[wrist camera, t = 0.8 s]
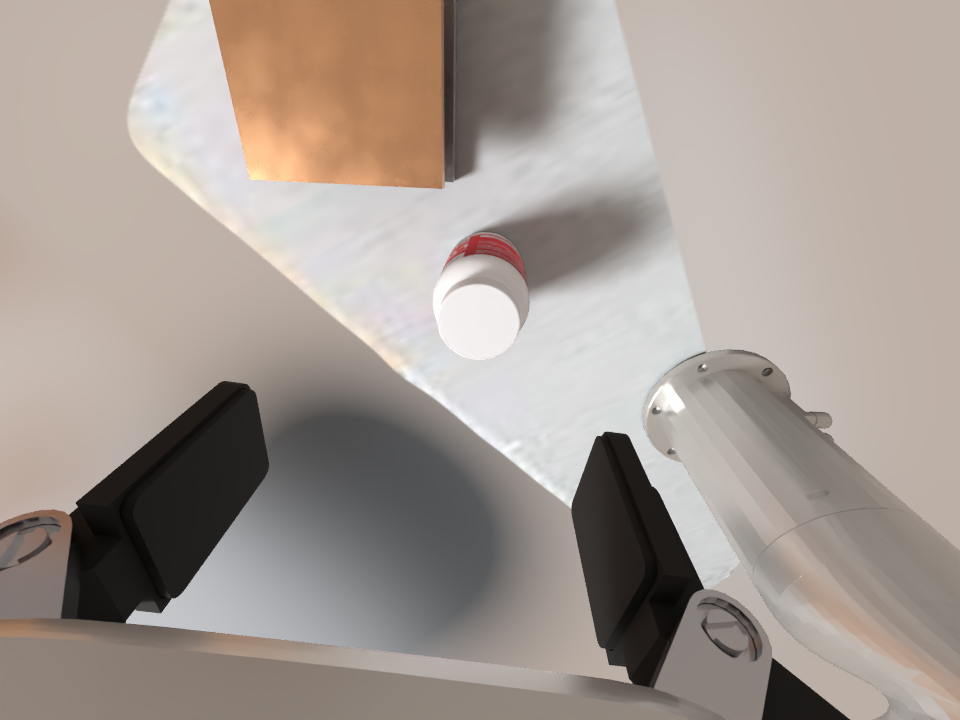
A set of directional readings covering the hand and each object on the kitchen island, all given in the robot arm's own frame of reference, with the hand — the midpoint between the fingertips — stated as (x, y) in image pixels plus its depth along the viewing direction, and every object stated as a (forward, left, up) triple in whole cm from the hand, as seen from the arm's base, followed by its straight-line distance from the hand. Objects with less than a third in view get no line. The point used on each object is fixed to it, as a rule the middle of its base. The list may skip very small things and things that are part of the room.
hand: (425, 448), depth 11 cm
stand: (+7, -11, -23) cm, 26 cm away
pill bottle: (-1, +1, -23) cm, 23 cm away
